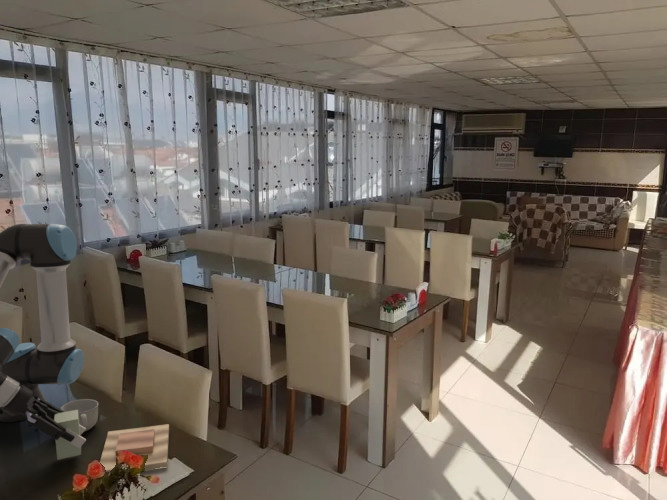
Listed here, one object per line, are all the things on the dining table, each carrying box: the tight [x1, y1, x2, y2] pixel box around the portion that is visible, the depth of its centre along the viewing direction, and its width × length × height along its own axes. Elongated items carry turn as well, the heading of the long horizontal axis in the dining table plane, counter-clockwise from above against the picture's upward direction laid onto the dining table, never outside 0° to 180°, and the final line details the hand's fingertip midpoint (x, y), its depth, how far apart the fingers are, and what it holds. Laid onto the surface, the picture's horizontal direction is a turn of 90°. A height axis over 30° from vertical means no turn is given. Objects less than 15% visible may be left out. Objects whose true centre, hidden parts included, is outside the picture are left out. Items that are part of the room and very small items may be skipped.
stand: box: [99, 423, 170, 472], centre depth 152 cm, size 22×18×4 cm
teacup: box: [60, 398, 99, 433], centre depth 164 cm, size 14×11×8 cm
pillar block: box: [54, 410, 82, 461], centre depth 147 cm, size 6×6×11 cm
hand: (82, 437), depth 149 cm, fingers closed on pillar block, 6 cm apart
